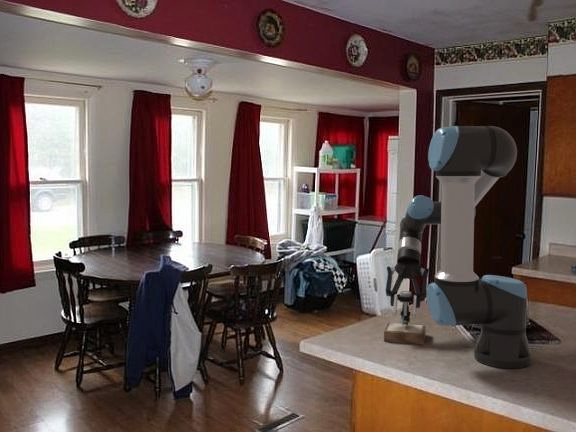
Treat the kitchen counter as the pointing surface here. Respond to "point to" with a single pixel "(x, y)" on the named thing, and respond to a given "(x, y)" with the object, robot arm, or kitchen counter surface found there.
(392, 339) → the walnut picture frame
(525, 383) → the kitchen counter surface
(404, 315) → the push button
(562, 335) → the kitchen counter surface
